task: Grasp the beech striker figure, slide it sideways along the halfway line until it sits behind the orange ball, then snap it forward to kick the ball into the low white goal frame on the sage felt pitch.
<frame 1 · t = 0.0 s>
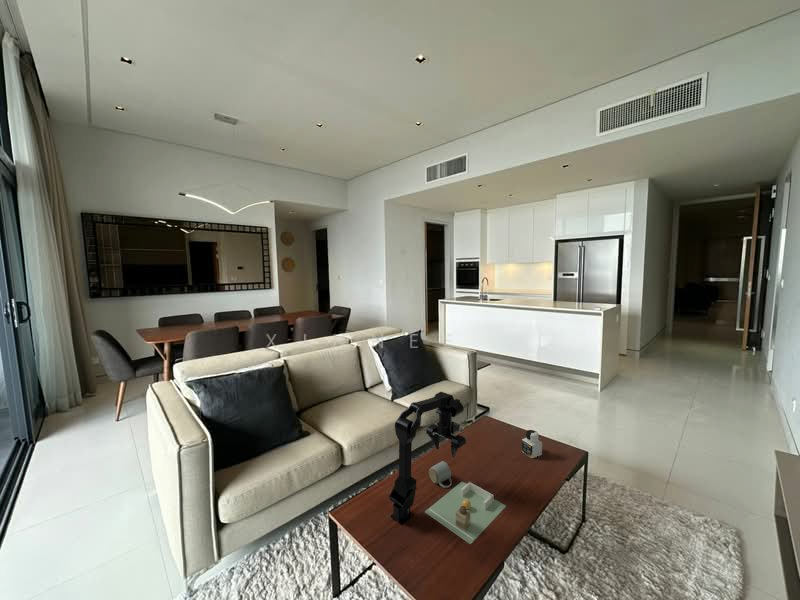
hand: (445, 453, 149), 15 cm above the table, fingers open, 9 cm apart
pitch mat: (465, 509, 134), on the table
striker: (463, 524, 126), resting on pitch mat
ball: (466, 504, 134), point 2 cm above the table, touching pitch mat
ceramic mug: (441, 482, 152), on the table
goal: (476, 498, 140), resting on pitch mat
medicine bottle: (531, 453, 172), on the table
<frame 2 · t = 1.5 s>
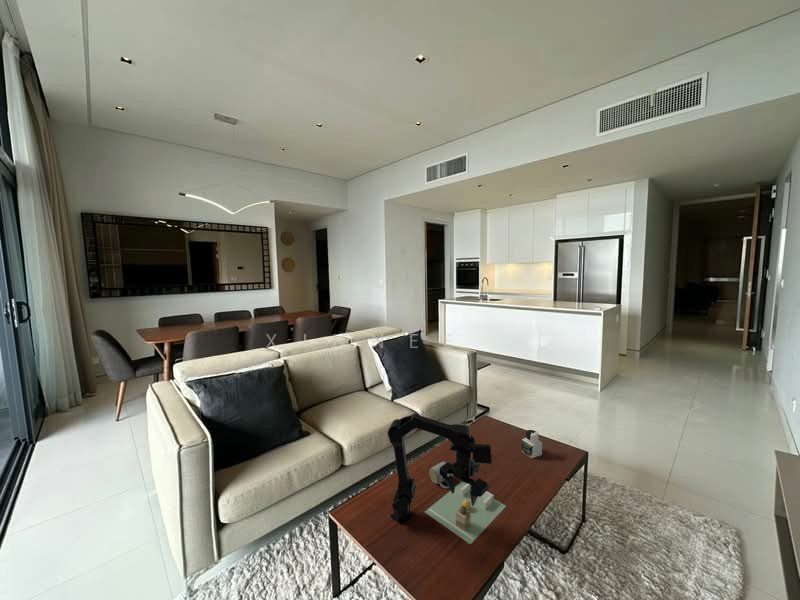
hand: (462, 498, 125), 11 cm above the table, fingers open, 9 cm apart
nothing on the table moved.
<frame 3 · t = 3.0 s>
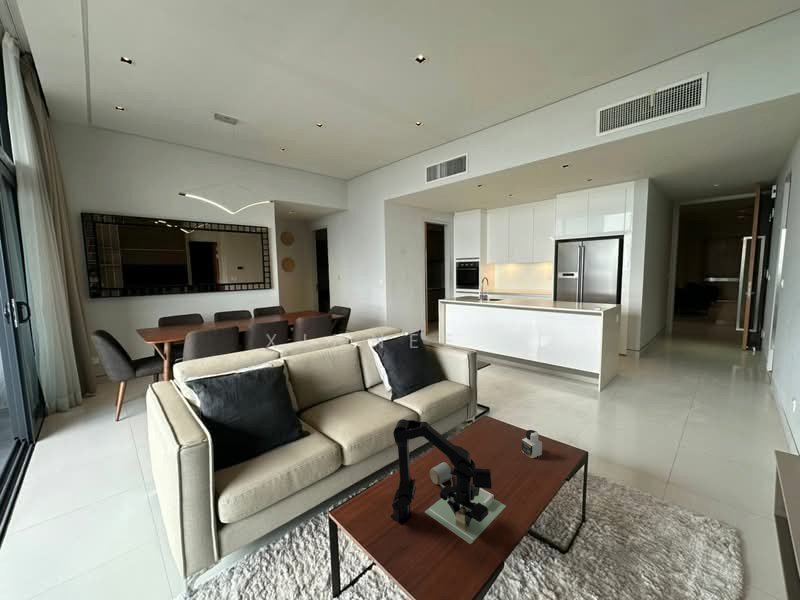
hand: (463, 522, 126), 1 cm above the table, fingers closed on striker, 4 cm apart
striker: (463, 524, 126), resting on pitch mat, touching gripper
everything else where it was.
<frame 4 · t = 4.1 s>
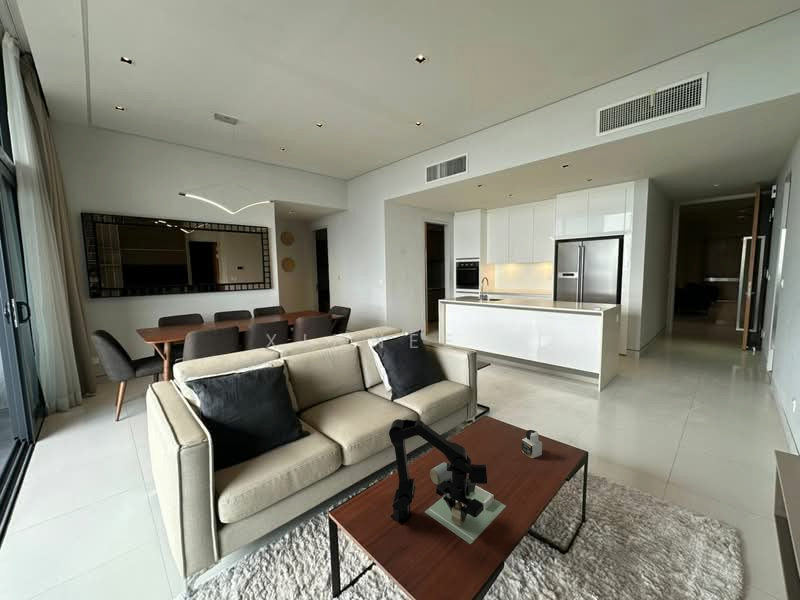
hand: (458, 518, 127), 2 cm above the table, fingers closed on striker, 4 cm apart
striker: (458, 520, 127), point 1 cm above the table, touching gripper
when the fingers open (2 cm above the table, at t = 5.3 s): striker drops 1 cm, resting on pitch mat.
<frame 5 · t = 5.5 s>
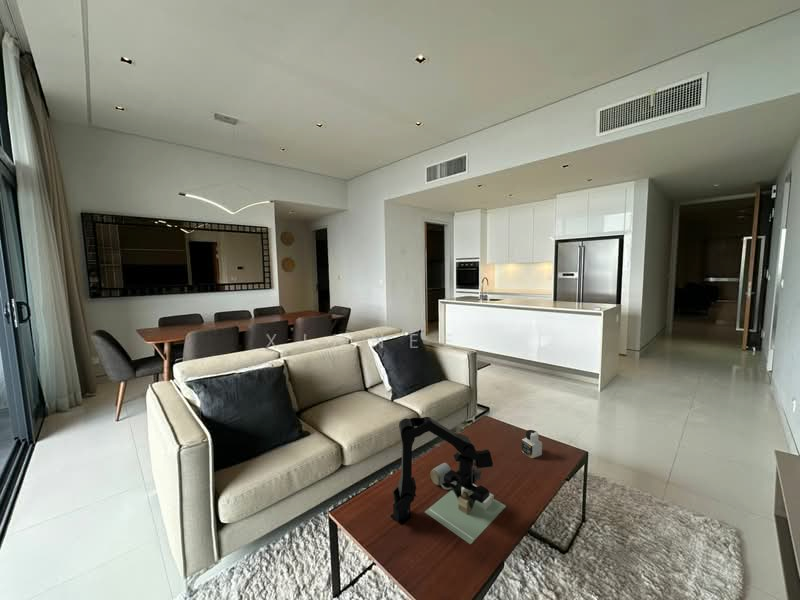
hand: (465, 504, 134), 2 cm above the table, fingers open, 5 cm apart
striker: (465, 509, 134), resting on pitch mat
ball: (477, 494, 140), point 2 cm above the table, tilted 103°, touching pitch mat
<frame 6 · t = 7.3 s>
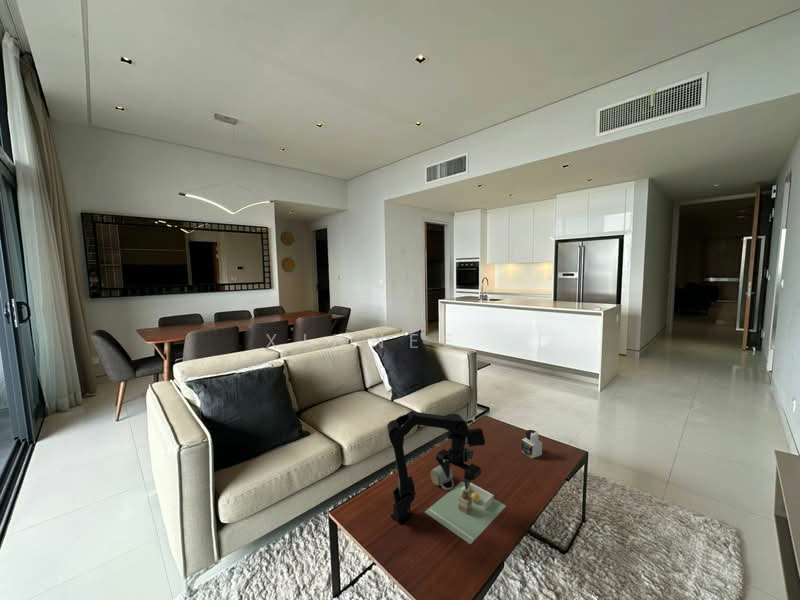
hand: (457, 483, 133), 12 cm above the table, fingers open, 9 cm apart
ball: (475, 497, 138), point 2 cm above the table, tilted 171°, touching pitch mat
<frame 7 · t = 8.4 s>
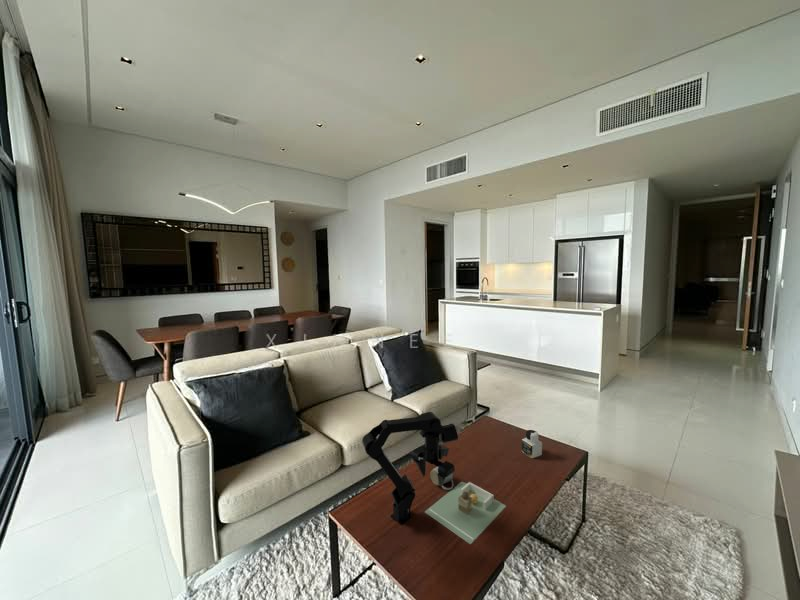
hand: (432, 480, 134), 13 cm above the table, fingers open, 9 cm apart
ball: (473, 498, 137), point 2 cm above the table, tilted 145°, touching pitch mat
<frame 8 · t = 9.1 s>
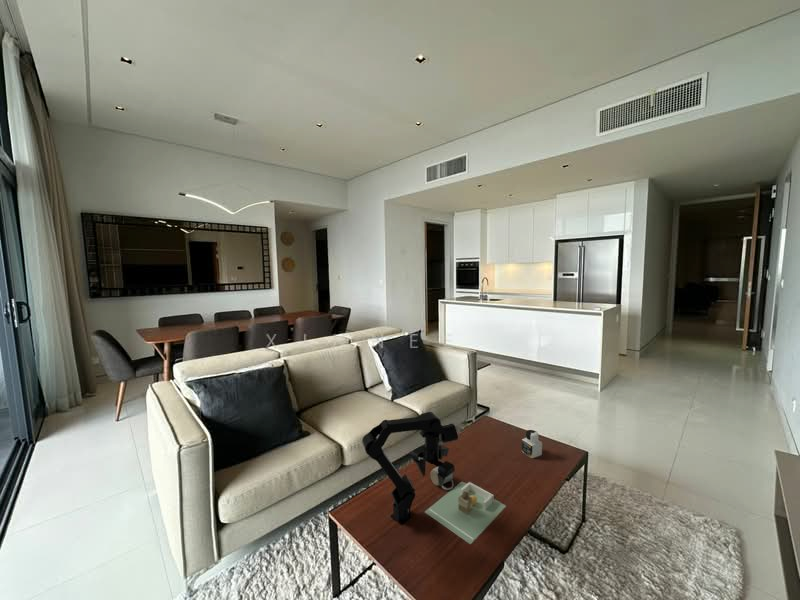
hand: (432, 480, 134), 13 cm above the table, fingers open, 9 cm apart
ball: (472, 499, 137), point 2 cm above the table, tilted 119°, touching pitch mat
ceramic mug: (443, 484, 150), on the table, touching pitch mat
everything else where it was.
at the end: ball inside the target area on the goal (3.2 cm from its centre), point 1.7 cm above the goal's base; the gripper is holding nothing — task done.
